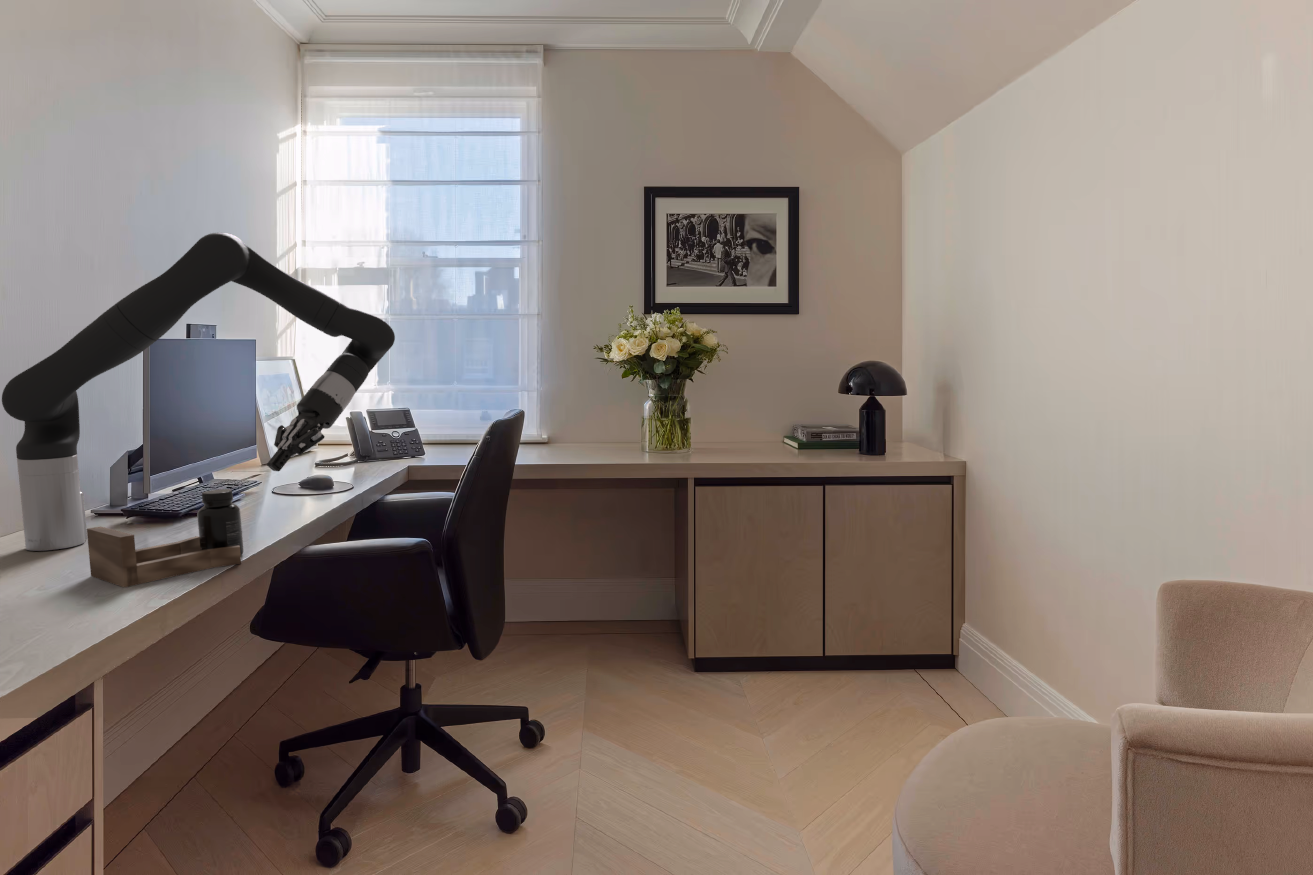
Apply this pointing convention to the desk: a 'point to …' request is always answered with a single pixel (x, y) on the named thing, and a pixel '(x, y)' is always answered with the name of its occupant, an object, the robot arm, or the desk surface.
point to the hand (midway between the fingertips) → (272, 468)
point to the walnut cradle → (150, 558)
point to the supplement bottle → (219, 521)
